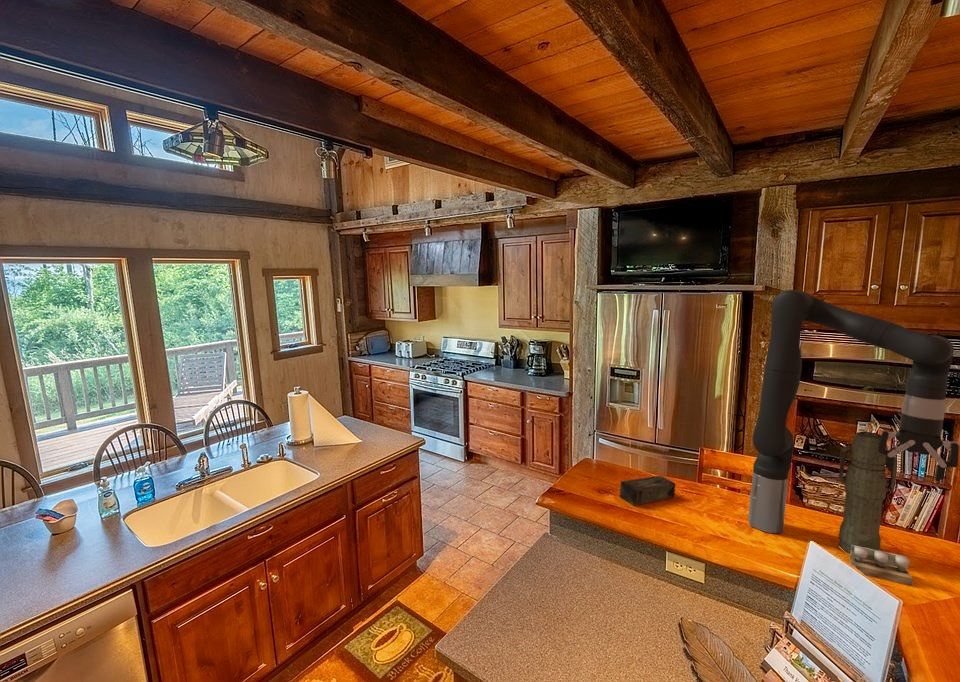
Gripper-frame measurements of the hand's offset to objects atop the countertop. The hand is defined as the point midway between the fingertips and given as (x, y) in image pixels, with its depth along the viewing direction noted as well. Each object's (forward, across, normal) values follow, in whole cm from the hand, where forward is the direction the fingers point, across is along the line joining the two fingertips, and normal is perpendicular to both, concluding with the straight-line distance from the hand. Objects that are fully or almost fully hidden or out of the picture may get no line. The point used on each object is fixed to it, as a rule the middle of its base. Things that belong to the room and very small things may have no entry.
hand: (913, 475), depth 111 cm
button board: (+28, -4, -2) cm, 28 cm away
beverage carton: (+30, -66, 0) cm, 72 cm away
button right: (+26, 0, -1) cm, 26 cm away
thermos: (+28, -8, +8) cm, 30 cm away
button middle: (+26, -4, -2) cm, 26 cm away
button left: (+26, -8, -3) cm, 28 cm away
